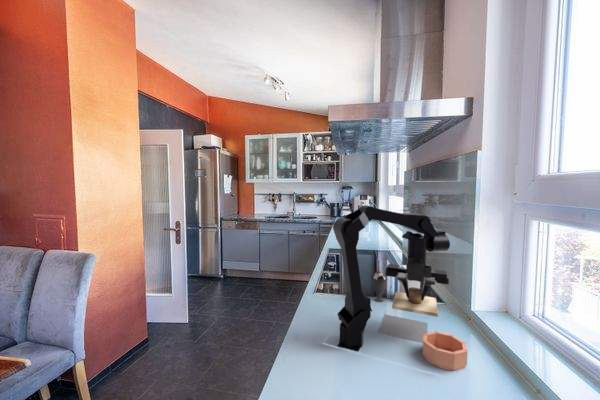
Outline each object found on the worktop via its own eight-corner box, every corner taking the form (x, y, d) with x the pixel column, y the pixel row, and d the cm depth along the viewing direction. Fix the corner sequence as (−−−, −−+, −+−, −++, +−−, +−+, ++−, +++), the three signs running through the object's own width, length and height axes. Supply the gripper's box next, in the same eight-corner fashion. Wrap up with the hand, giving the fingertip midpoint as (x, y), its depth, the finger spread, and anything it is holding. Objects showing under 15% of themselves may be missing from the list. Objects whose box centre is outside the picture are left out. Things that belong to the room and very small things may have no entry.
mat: (377, 333, 94) (377, 332, 94) (384, 315, 107) (384, 314, 107) (426, 345, 88) (426, 343, 88) (427, 324, 101) (427, 322, 101)
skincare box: (398, 297, 125) (400, 264, 124) (412, 297, 125) (413, 264, 124) (405, 305, 117) (407, 270, 116) (420, 305, 117) (421, 270, 116)
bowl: (422, 364, 78) (422, 346, 78) (423, 344, 88) (423, 328, 88) (467, 376, 73) (468, 357, 73) (463, 353, 83) (464, 337, 83)
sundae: (374, 296, 125) (375, 263, 125) (388, 300, 121) (390, 266, 120) (367, 301, 120) (368, 266, 119) (382, 305, 116) (383, 270, 115)
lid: (392, 308, 89) (392, 293, 89) (395, 294, 101) (396, 280, 101) (437, 316, 84) (438, 300, 83) (435, 300, 96) (436, 286, 95)
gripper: (384, 254, 88) (382, 303, 88) (451, 261, 80) (449, 315, 81) (388, 247, 98) (386, 291, 99) (448, 253, 90) (446, 300, 91)
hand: (415, 299), depth 92 cm, fingers closed on lid, 4 cm apart
